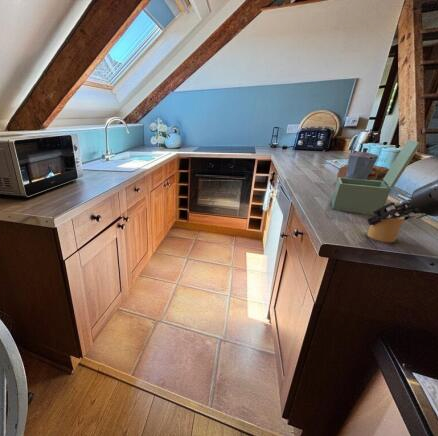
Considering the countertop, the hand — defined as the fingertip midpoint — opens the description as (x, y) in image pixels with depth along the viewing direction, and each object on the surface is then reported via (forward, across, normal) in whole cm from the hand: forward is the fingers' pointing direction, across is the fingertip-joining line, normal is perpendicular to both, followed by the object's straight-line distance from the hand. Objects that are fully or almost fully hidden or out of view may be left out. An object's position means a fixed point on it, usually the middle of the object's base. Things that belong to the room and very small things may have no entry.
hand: (380, 221), depth 69 cm
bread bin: (+18, -13, -12) cm, 26 cm away
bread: (+39, -43, -33) cm, 67 cm away
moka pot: (+30, -25, -24) cm, 46 cm away
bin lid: (+3, -19, -21) cm, 29 cm away
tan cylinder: (+2, 0, +4) cm, 5 cm away
